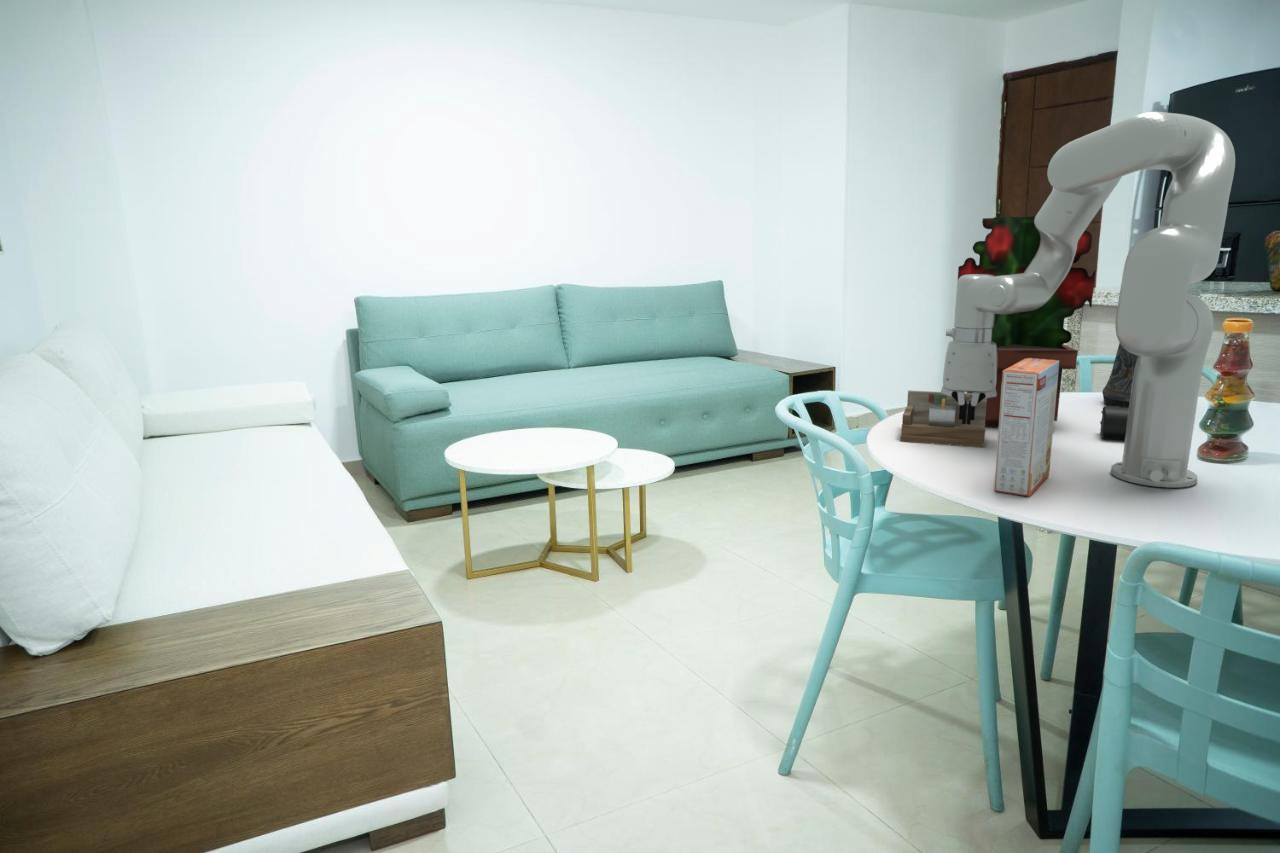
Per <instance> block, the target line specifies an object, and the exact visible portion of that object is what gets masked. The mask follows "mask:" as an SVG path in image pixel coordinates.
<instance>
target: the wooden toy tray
mask: <svg viewBox="0 0 1280 853" xmlns="http://www.w3.org/2000/svg"><path fill="white" fill-rule="evenodd" d="M964 393H965V400H966V404H967V411H968V404H969V401H970V400H971V399H972V395H973V394H971V393H967V392H964ZM942 398H943V399H945V405H954V406H956V414H955V427H954V428H950V427H935V426H928V425H929V410H930V406H931V404H937V405H942ZM906 402H907V403H906V407H905V409H904V412H903V414H902V419H901V420H902V424H901V433H900V442H902V443H903V442H905V443H918V444H919V443H920V444H930V443H934V444H933V445H943V444H951V445H950V446H956V445H962V446H961V447H969V446H973V447H972V448H982V447H984V448H985V438H986V437H985V435H986V429H985V426H986V425H985V417H986V405H987V398H984V399H983V400H982V401H980V402H979V403H978V404H977V405H976V406H975V416H974V420H971V421H970V425H967V415H966V424H962V419H959V410H960V405H959V403H958V402H957V401H956V400H955V399H954V398H953V397H952V396H948V395H944V394H942V393H941V391H932V390H931V391H929V390H927V391H926V390H913V389H911V390H910V389H909V390H908V391H907V401H906Z"/></svg>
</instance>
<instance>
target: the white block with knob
mask: <svg viewBox="0 0 1280 853" xmlns="http://www.w3.org/2000/svg"><path fill="white" fill-rule="evenodd" d="M955 414H956V406H954V405H945V399H943V398H942V405H937V404H931V406H930V410H929V425H928V426H935V427H950V428H954V427H955Z"/></svg>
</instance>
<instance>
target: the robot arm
mask: <svg viewBox="0 0 1280 853" xmlns="http://www.w3.org/2000/svg"><path fill="white" fill-rule="evenodd" d="M1235 153H1236V152H1235V148H1234V145H1233V143H1232V141H1231V138H1230V137H1229V136H1228V134H1227V133H1226V132H1225V131H1224V130H1222V129H1221V128H1220V127H1218V126H1217V125H1215V124H1214V123H1212V122H1210V121H1208V120H1205V119H1202V118H1200V117H1196V116H1193V115H1187V114H1184V113H1176V112H1175V113H1173V112H1165V111H1146V112H1141V113H1138V114H1135V115H1132V116H1130V117H1127V118H1124V119H1122V120H1119V121H1117V122H1115V123H1112V124H1110V125H1108V126H1105V127H1103V128H1100V129H1098V130H1096V131H1093V132H1090V133H1088V134H1085V135H1083V136H1081V137H1078V138H1076V139H1074V140H1072V141H1069V142H1068V143H1066V144H1064V145H1063V146H1061V147H1060V148H1059V149H1058V150H1057V151H1056V152H1055V153H1054V154H1053V156H1052V157H1051V159H1050V162H1049V163H1048V167H1047V179H1048V182H1049V184H1050V186H1051V187H1052V188H1053V189H1052V190H1051V192H1050V194H1049V195H1048V196H1047V199H1046V200H1045V201H1044V203H1043V204H1042V206H1041V208H1040V209H1039V211H1037V214H1036V215H1035V216H1034V217H1035V220H1034V224H1035V227H1036V228H1037V229H1038V231H1039V233H1040V237H1041V241H1040V246H1039V249H1038V251H1037V253H1036V255H1035V257H1034V259H1033V260H1032V262H1031V263H1030V265H1029V266H1028V267H1027V269H1026V270H1025V272H1024V273H1022V274H1012V275H1002V276H993V275H988V274H968V275H963V276H961V277H960V278H959V279H958V278H957V281H958V282H957V284H956V291H955V292H956V294H955V307H954V321H953V324H954V325H953V327H952V328H949V329H946V331H945V337H950V338H951V339H952V341H951V340H950V341H949V342H948V344H947V349H946V353H945V359H944V368H943V377H942V387H941V391H940V392H941V393H942V394H944V395H948V396H952V397H953V398H954V399H955V400H956V401H957V402H958V403H959V405H960V410H959V419H962V424H966V415H967V425H970V421H971V420H974V416H975V406H976V405H977V404H978V403H979V402H980V401H982V400H983V399H984V398H991V397H996V395H997V392H996V383H997V363H998V355H997V345H996V343H994V342H993V331H994V320H995V314H1003V315H1005V314H1014V313H1019V312H1027V311H1033V310H1036V309H1038V308H1040V307H1041V306H1043V305H1044V304H1045V303H1046V302H1047V301H1048V300H1049V299H1050V298H1051V297H1052V295H1053V294H1054V293H1055V291H1056V290H1057V288H1058V287H1059V286H1060V284H1061V283H1062V281H1063V280H1064V279H1065V277H1066V276H1067V274H1068V272H1069V270H1070V268H1071V267H1072V266H1073V264H1072V263H1073V260H1074V256H1075V253H1076V250H1077V243H1078V240H1079V238H1080V237H1081V235H1082V234H1083V232H1084V231H1086V229H1087V228H1088V227H1089V225H1090V223H1091V222H1092V220H1093V219H1094V218H1095V216H1096V215H1097V214H1098V213H1099V211H1100V210H1101V208H1102V206H1103V205H1104V204H1105V202H1106V201H1107V199H1108V198H1109V197H1110V195H1111V194H1112V192H1113V191H1114V189H1115V188H1116V187H1117V186H1118V184H1119V182H1120V181H1121V179H1122V178H1123V177H1124V176H1127V175H1129V174H1132V173H1135V172H1138V171H1141V170H1156V171H1159V170H1160V171H1161V170H1162V171H1164V170H1165V171H1167V172H1171V175H1172V180H1171V182H1170V184H1169V186H1168V188H1167V191H1166V194H1165V198H1164V200H1163V206H1162V207H1163V208H1162V215H1161V219H1160V223H1159V224H1160V225H1159V227H1155V228H1153V229H1150V230H1148V231H1146V232H1145V233H1143V234H1142V235H1140V237H1138V238H1137V240H1135V242H1134V243H1133V244H1132V246H1131V247H1130V249H1129V251H1128V254H1127V256H1126V258H1125V262H1124V268H1123V272H1122V278H1121V284H1120V290H1119V296H1118V303H1117V309H1116V316H1115V324H1114V325H1115V332H1116V337H1117V340H1118V342H1119V343H1120V344H1121V345H1122V346H1123V347H1124V348H1125V349H1126V350H1127V351H1129V352H1130V353H1132V354H1135V355H1138V359H1137V362H1136V366H1135V370H1134V375H1133V382H1132V388H1131V396H1130V404H1129V412H1128V420H1127V428H1126V436H1125V440H1124V446H1123V454H1122V460H1121V461H1119V462H1115V463H1114V464H1112V465H1111V467H1110V473H1111V474H1112V476H1114V477H1115V478H1118V479H1120V480H1122V481H1125V482H1129V483H1133V484H1136V485H1141V486H1149V487H1155V488H1166V489H1167V488H1168V489H1170V488H1173V489H1174V488H1175V489H1176V488H1177V489H1179V488H1181V489H1182V488H1187V487H1191V486H1194V485H1196V484H1197V482H1198V476H1197V473H1195V472H1193V471H1191V470H1190V469H1189V468H1188V467H1189V460H1190V454H1191V448H1192V443H1193V442H1192V440H1193V434H1194V428H1195V427H1194V426H1195V420H1196V414H1197V406H1198V400H1199V394H1200V388H1201V381H1202V374H1203V370H1204V364H1205V361H1206V357H1207V353H1208V350H1209V346H1210V343H1211V340H1212V336H1213V333H1214V321H1215V320H1214V315H1213V313H1212V310H1211V308H1210V306H1209V305H1208V303H1206V302H1205V300H1203V299H1202V298H1200V297H1198V296H1196V295H1193V294H1190V293H1189V288H1190V285H1192V284H1196V283H1198V282H1201V281H1203V280H1205V279H1208V277H1209V276H1211V274H1212V273H1213V271H1214V270H1215V269H1216V267H1217V265H1218V262H1219V258H1220V252H1221V247H1222V241H1223V236H1224V229H1225V226H1226V219H1227V216H1228V214H1227V213H1228V208H1229V199H1230V195H1231V191H1232V185H1233V180H1234V175H1235V170H1236V169H1235V168H1236V154H1235ZM967 392H973V395H972V399H971V400H970V401H969V404H968V411H967V404H966V400H965V393H967Z"/></svg>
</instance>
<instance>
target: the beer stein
mask: <svg viewBox="0 0 1280 853" xmlns="http://www.w3.org/2000/svg"><path fill="white" fill-rule="evenodd" d="M1137 359H1138V355H1135V354H1132V353H1130V352H1129V351H1127V350H1126V349H1125V348H1124V347H1123V346H1122V345H1121V344H1120V342H1119V343H1118V346H1117V351H1116V354H1115V358H1114V361H1113V365H1112V370H1111V372H1110V375H1109V379H1108V380H1107V382H1106V384H1105V386H1104V388H1103V389H1102V398H1103V404H1104V406H1105V405H1106V406H1109V405H1110V406H1120V407H1124V408H1129V404H1130V396H1131V388H1132V382H1133V375H1134V370H1135V366H1136V362H1137Z"/></svg>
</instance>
